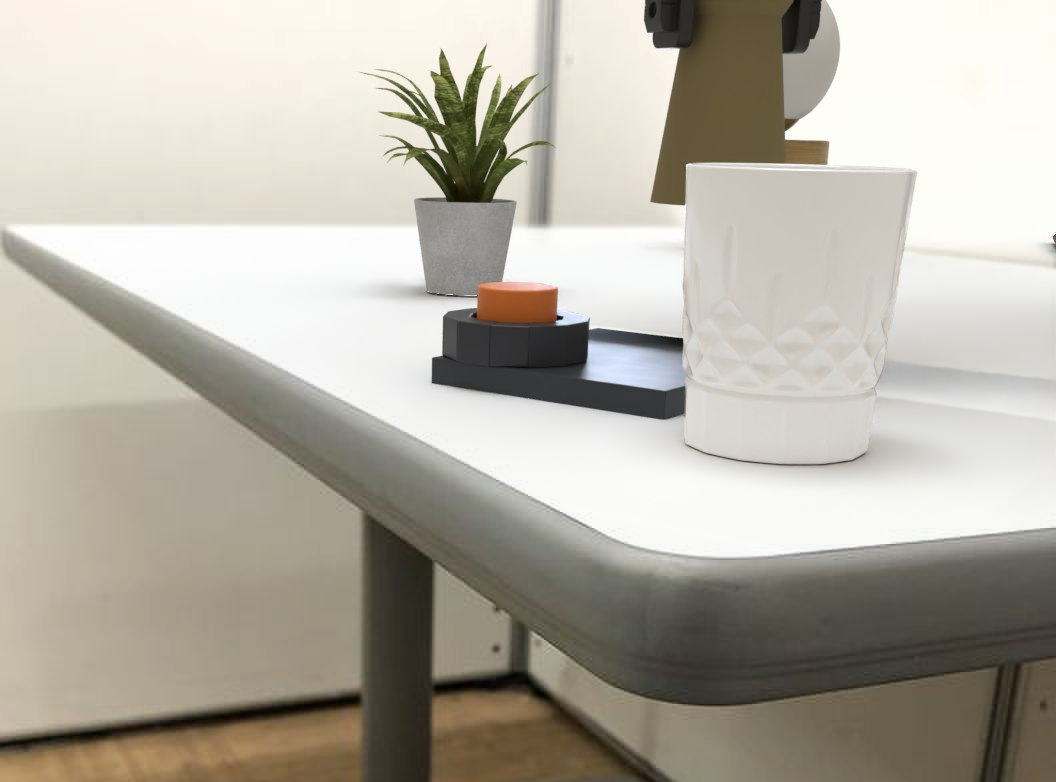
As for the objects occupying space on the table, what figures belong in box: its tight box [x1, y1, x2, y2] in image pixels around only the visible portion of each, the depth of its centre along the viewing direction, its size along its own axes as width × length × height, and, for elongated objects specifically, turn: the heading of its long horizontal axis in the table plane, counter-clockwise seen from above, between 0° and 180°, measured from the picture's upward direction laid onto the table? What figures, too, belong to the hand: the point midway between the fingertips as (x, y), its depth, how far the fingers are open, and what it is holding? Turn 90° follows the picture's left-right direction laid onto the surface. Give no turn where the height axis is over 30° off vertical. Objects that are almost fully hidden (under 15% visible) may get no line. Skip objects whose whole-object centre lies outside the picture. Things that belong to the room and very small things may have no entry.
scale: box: [431, 307, 687, 421], centre depth 65 cm, size 14×13×3 cm
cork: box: [649, 0, 794, 207], centre depth 61 cm, size 6×6×11 cm
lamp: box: [783, 0, 841, 165], centre depth 133 cm, size 15×14×25 cm
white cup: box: [681, 163, 918, 465], centre depth 51 cm, size 8×8×10 cm
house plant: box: [355, 42, 556, 295], centre depth 97 cm, size 14×14×16 cm
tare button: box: [476, 281, 559, 323], centre depth 63 cm, size 4×4×2 cm
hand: (730, 48), depth 61 cm, fingers closed on cork, 5 cm apart
